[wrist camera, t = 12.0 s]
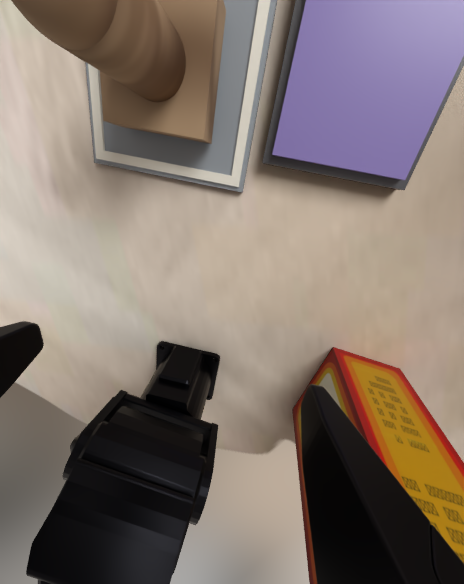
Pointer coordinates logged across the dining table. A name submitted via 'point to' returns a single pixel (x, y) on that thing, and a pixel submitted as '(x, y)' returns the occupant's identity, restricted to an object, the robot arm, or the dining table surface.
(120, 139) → the print card
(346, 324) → the dining table surface
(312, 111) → the ink pad
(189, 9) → the stamp
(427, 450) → the baking soda box
